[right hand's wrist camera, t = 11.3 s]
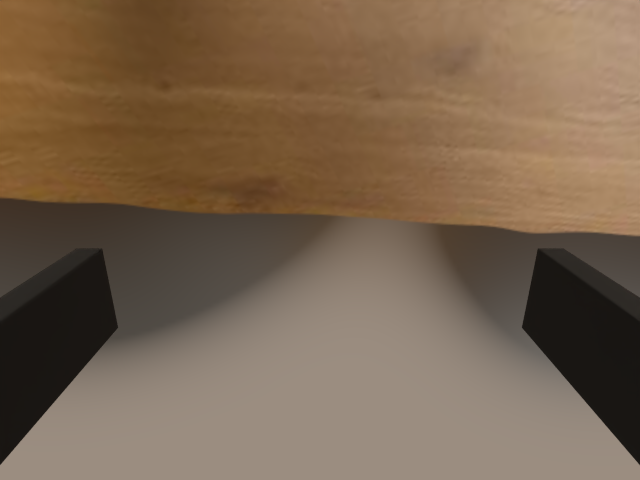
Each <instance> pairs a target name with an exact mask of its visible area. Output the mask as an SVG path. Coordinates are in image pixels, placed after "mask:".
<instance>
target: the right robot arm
mask: <svg viewBox="0 0 640 480" xmlns="http://www.w3.org/2000/svg"><path fill="white" fill-rule="evenodd" d="M117 328H118V325H117V321H116V315H115V310H114V305H113V300H112V296H111V291H110V286H109V281H108V276H107V271H106V266H105V261H104V256H103V251H102V249H75V250H74V251H72V252H70V253H69V254H67V255H66V256H64V257H63V258H61V259H60V260H58V261H56V262H55V263H53V264H52V265H50V266H49V267H47V268H46V269H44V270H42V271H41V272H39V273H38V274H36V275H35V276H33V277H32V278H30V279H29V280H27V281H26V282H24V283H22V284H21V285H19V286H18V287H16V288H15V289H13V290H11V291H10V292H8V293H7V294H5V295H4V296H2V297H1V298H0V464H1V463H2V462H3V461H4V460H5V459H6V457H7V456H8V455H9V454H10V453H11V452H12V451H13V449H14V448H15V447H16V446H17V445H18V444H19V442H20V441H21V440H22V439H23V438H24V437H25V435H26V434H27V433H28V432H29V431H30V430H31V428H32V427H33V426H34V425H35V424H36V423H37V421H38V420H39V419H40V418H41V417H42V416H43V414H44V413H45V412H46V411H47V410H48V409H49V407H50V406H51V405H52V404H53V403H54V402H55V400H56V399H57V398H58V397H59V396H60V395H61V393H62V392H63V391H64V390H65V389H66V388H67V386H68V385H69V384H70V383H71V382H72V381H73V379H74V378H75V377H76V376H77V375H78V374H79V372H80V371H81V370H82V369H83V368H84V367H85V365H86V364H87V363H88V362H89V361H90V360H91V358H92V357H93V356H94V355H95V354H96V353H97V351H98V350H99V349H100V348H101V347H102V346H103V344H104V343H105V342H106V341H107V340H108V339H109V337H110V336H111V335H112V334H113V333H114V332H115V330H116V329H117ZM522 328H523V329H524V330H525V332H526V333H527V334H528V335H529V336H530V337H531V339H532V340H533V341H534V342H535V343H536V344H537V346H538V347H539V348H540V349H541V350H542V351H543V353H544V354H545V355H546V356H547V357H548V358H549V360H550V361H551V362H552V363H553V364H554V365H555V367H556V368H557V369H558V370H559V371H560V372H561V374H562V375H563V376H564V377H565V378H566V379H567V381H568V382H569V383H570V384H571V385H572V386H573V388H574V389H575V390H576V391H577V392H578V393H579V395H580V396H581V397H582V398H583V399H584V400H585V402H586V403H587V404H588V405H589V406H590V407H591V409H592V410H593V411H594V412H595V413H596V414H597V416H598V417H599V418H600V419H601V420H602V421H603V423H604V424H605V425H606V426H607V427H608V428H609V430H610V431H611V432H612V433H613V434H614V435H615V437H616V438H617V439H618V440H619V441H620V442H621V444H622V445H623V446H624V447H625V448H626V449H627V451H628V452H629V453H630V454H631V455H632V456H633V458H634V459H635V460H636V461H637V462H638V463H639V464H640V298H639V297H638V296H636V295H635V294H633V293H632V292H630V291H629V290H627V289H625V288H624V287H622V286H621V285H619V284H618V283H616V282H615V281H613V280H611V279H610V278H608V277H607V276H605V275H604V274H602V273H601V272H599V271H597V270H596V269H594V268H593V267H591V266H590V265H588V264H587V263H585V262H584V261H582V260H580V259H579V258H577V257H576V256H574V255H573V254H571V253H570V252H568V251H566V250H565V249H538V251H537V256H536V261H535V266H534V271H533V276H532V281H531V286H530V291H529V296H528V300H527V305H526V311H525V315H524V320H523V325H522Z"/></svg>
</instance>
